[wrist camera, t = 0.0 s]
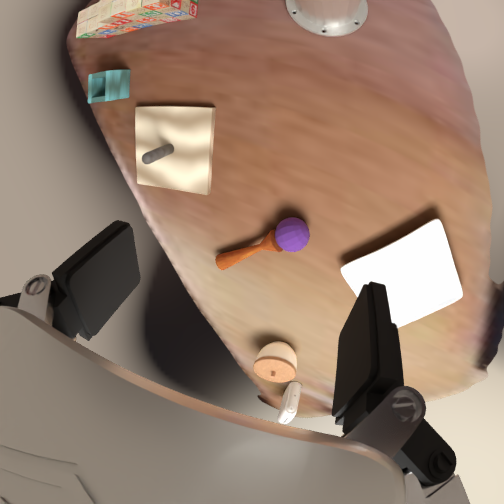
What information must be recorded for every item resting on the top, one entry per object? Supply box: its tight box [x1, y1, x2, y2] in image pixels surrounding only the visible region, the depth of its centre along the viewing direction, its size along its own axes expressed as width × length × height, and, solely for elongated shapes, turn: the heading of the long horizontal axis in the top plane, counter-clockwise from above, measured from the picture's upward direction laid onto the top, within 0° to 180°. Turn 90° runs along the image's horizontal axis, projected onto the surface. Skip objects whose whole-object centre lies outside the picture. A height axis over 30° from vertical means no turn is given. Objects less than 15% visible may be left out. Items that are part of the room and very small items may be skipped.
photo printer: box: [278, 382, 302, 424], centre depth 74 cm, size 10×4×12 cm, turn 171°
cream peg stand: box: [135, 106, 216, 195], centre depth 43 cm, size 16×16×10 cm
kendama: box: [215, 217, 310, 270], centre depth 51 cm, size 6×6×20 cm
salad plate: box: [340, 219, 463, 328], centre depth 47 cm, size 21×21×3 cm
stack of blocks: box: [76, 0, 198, 38], centre depth 27 cm, size 21×6×12 cm, turn 86°
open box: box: [88, 70, 130, 103], centre depth 39 cm, size 6×6×6 cm
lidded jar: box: [253, 341, 297, 383], centre depth 65 cm, size 11×11×9 cm
